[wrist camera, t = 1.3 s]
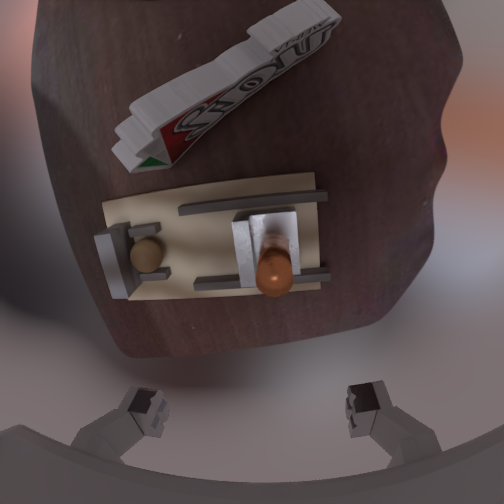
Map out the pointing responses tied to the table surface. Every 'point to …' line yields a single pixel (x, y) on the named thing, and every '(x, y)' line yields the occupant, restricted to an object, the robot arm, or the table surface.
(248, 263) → the handle
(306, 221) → the press bed
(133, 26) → the table surface
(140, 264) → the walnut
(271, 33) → the decorative sign
